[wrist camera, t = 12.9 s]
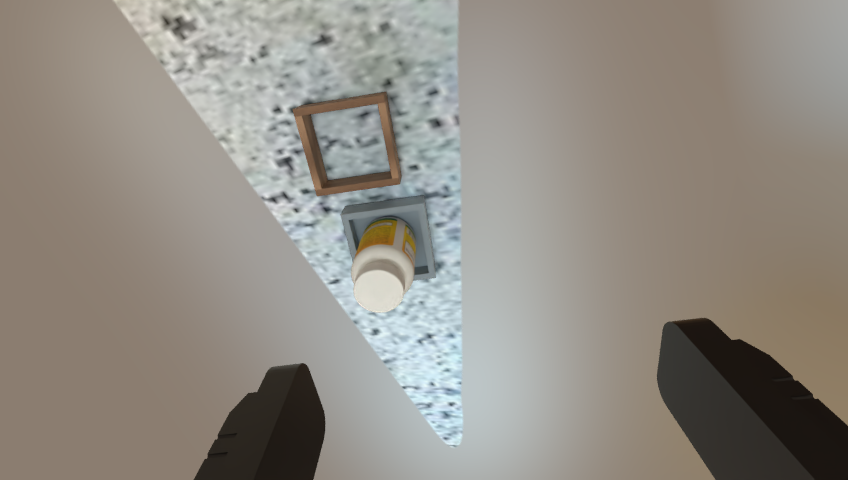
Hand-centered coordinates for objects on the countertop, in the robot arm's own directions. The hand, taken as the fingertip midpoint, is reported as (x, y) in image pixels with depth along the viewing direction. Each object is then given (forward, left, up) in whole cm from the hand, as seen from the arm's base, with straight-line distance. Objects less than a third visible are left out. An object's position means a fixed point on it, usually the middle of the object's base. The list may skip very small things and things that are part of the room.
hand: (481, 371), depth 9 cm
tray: (+10, -6, -30) cm, 32 cm away
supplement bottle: (+10, -6, -30) cm, 32 cm away
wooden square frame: (0, -8, -30) cm, 31 cm away
